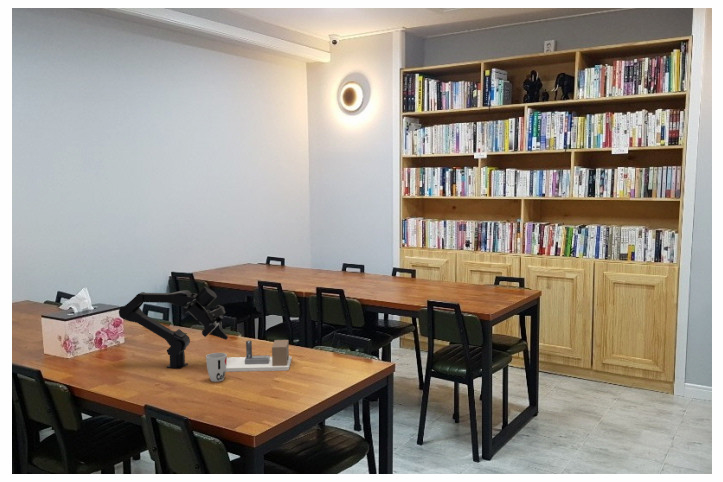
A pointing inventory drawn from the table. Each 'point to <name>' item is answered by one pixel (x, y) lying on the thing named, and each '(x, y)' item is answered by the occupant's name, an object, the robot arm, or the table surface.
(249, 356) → the bolt
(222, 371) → the cup
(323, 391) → the table surface
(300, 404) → the table surface
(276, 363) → the base
